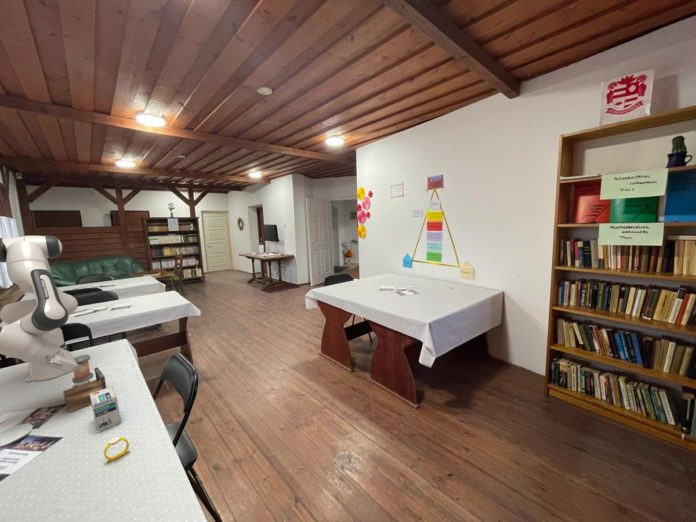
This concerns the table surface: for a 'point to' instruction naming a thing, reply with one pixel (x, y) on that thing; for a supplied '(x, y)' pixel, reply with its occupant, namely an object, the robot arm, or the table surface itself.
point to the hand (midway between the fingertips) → (83, 367)
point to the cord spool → (82, 375)
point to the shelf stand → (84, 392)
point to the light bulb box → (105, 408)
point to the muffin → (81, 383)
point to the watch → (112, 442)
